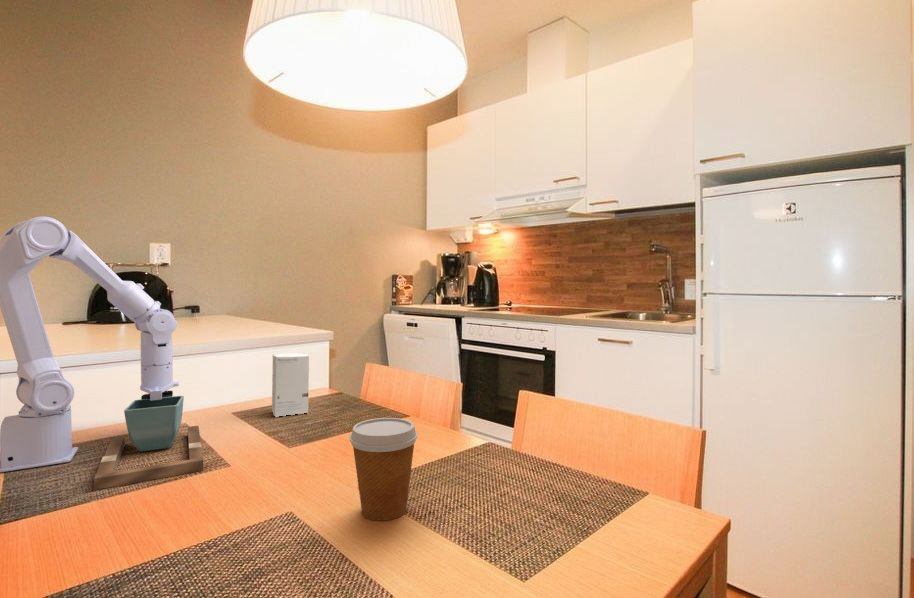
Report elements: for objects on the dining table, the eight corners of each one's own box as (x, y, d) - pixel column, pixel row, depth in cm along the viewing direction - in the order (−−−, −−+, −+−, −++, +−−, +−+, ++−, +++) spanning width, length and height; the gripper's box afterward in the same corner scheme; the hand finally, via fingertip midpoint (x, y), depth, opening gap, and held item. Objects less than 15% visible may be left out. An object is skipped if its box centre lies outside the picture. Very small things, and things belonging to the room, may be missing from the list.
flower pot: (124, 457, 87) (123, 409, 86) (135, 443, 95) (134, 399, 94) (178, 451, 90) (177, 405, 90) (184, 437, 98) (184, 395, 98)
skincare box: (274, 418, 112) (273, 357, 112) (271, 412, 118) (270, 353, 117) (310, 413, 116) (309, 354, 116) (305, 408, 122) (305, 351, 121)
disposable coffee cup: (388, 534, 59) (387, 441, 59) (335, 515, 64) (334, 429, 64) (431, 504, 67) (430, 423, 67) (381, 489, 72) (380, 413, 72)
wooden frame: (94, 490, 73) (93, 476, 73) (112, 446, 93) (112, 435, 93) (203, 470, 80) (203, 458, 80) (198, 433, 100) (198, 424, 100)
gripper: (178, 367, 96) (179, 432, 96) (178, 358, 108) (179, 416, 108) (137, 370, 92) (138, 438, 92) (142, 360, 105) (143, 420, 105)
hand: (158, 426), depth 100 cm, fingers closed
